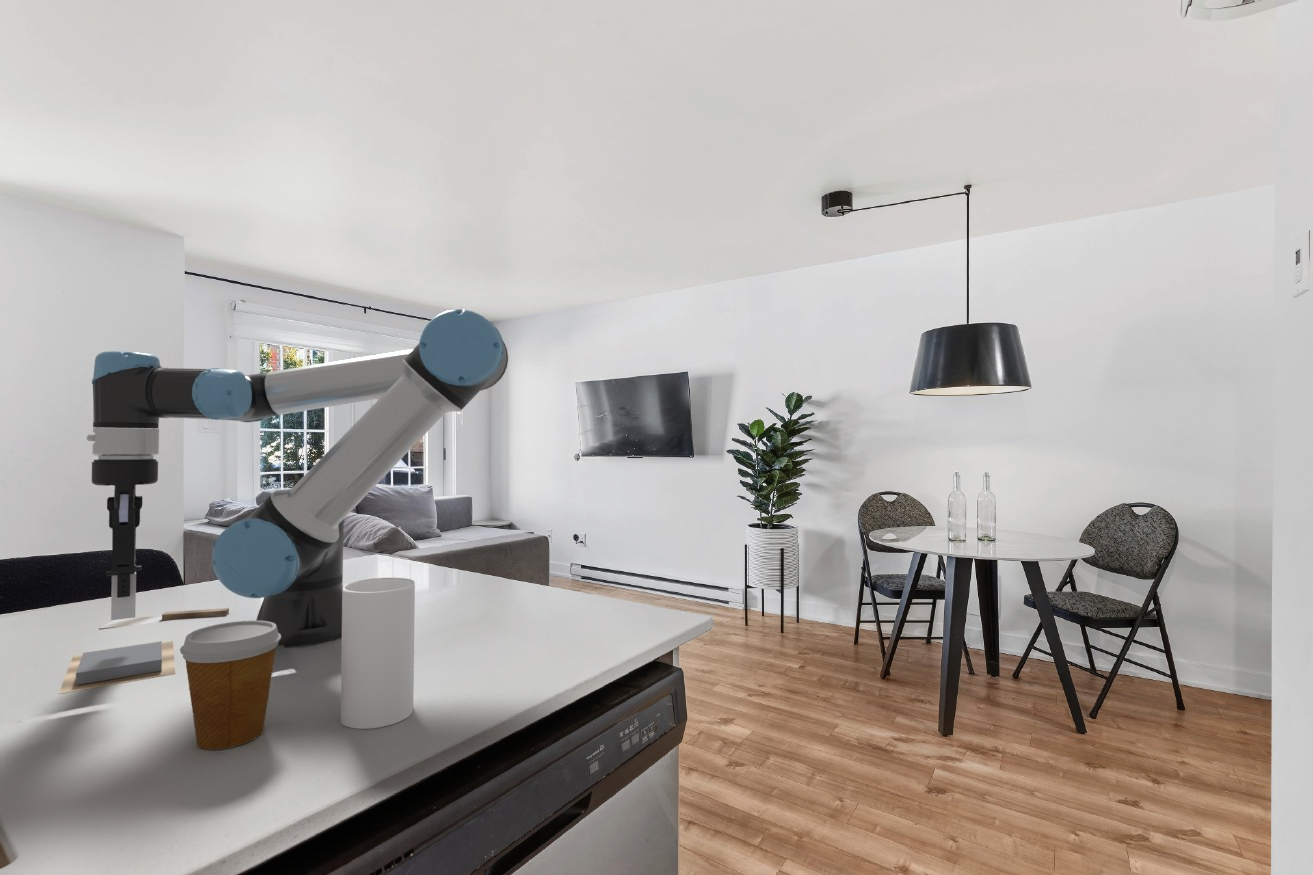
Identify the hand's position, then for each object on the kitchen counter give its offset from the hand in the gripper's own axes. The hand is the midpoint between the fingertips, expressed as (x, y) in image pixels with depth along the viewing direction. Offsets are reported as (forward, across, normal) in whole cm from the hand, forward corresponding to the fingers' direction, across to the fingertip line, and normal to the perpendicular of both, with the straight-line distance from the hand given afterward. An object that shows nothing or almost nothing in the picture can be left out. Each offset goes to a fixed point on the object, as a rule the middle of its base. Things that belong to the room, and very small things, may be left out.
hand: (123, 617), depth 94 cm
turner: (+7, -25, +5) cm, 27 cm away
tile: (+6, -2, 0) cm, 6 cm away
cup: (+7, +39, +26) cm, 47 cm away
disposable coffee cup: (+7, +36, +11) cm, 38 cm away
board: (+7, +1, 0) cm, 7 cm away
